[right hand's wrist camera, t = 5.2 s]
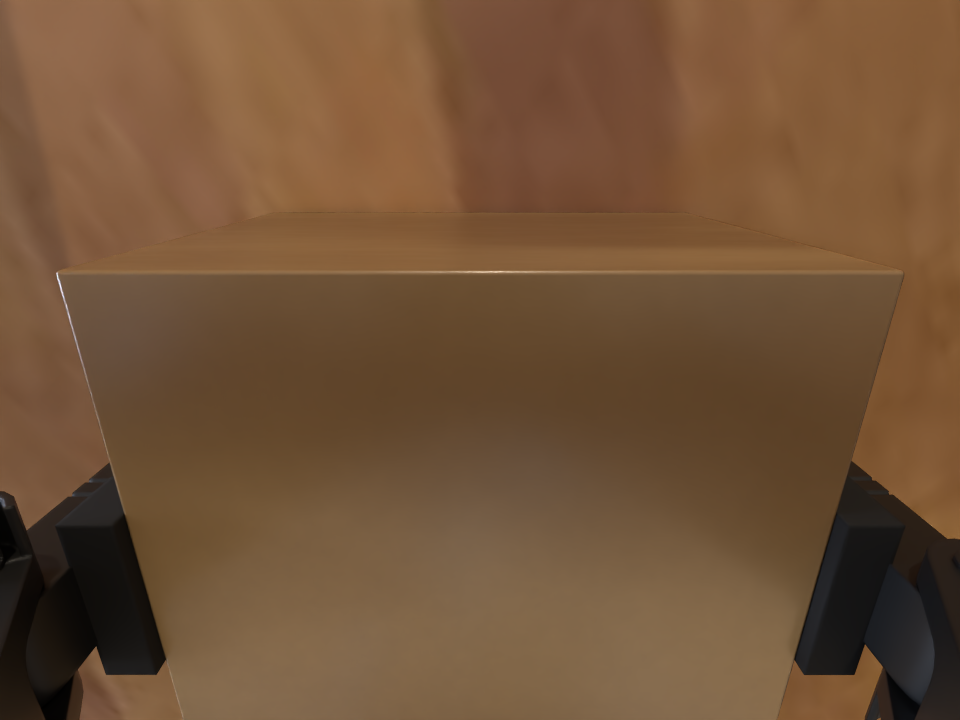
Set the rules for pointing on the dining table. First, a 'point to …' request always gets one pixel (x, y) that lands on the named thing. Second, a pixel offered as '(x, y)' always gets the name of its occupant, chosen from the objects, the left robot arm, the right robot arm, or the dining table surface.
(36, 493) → the dining table surface
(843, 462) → the thick board
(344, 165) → the dining table surface
